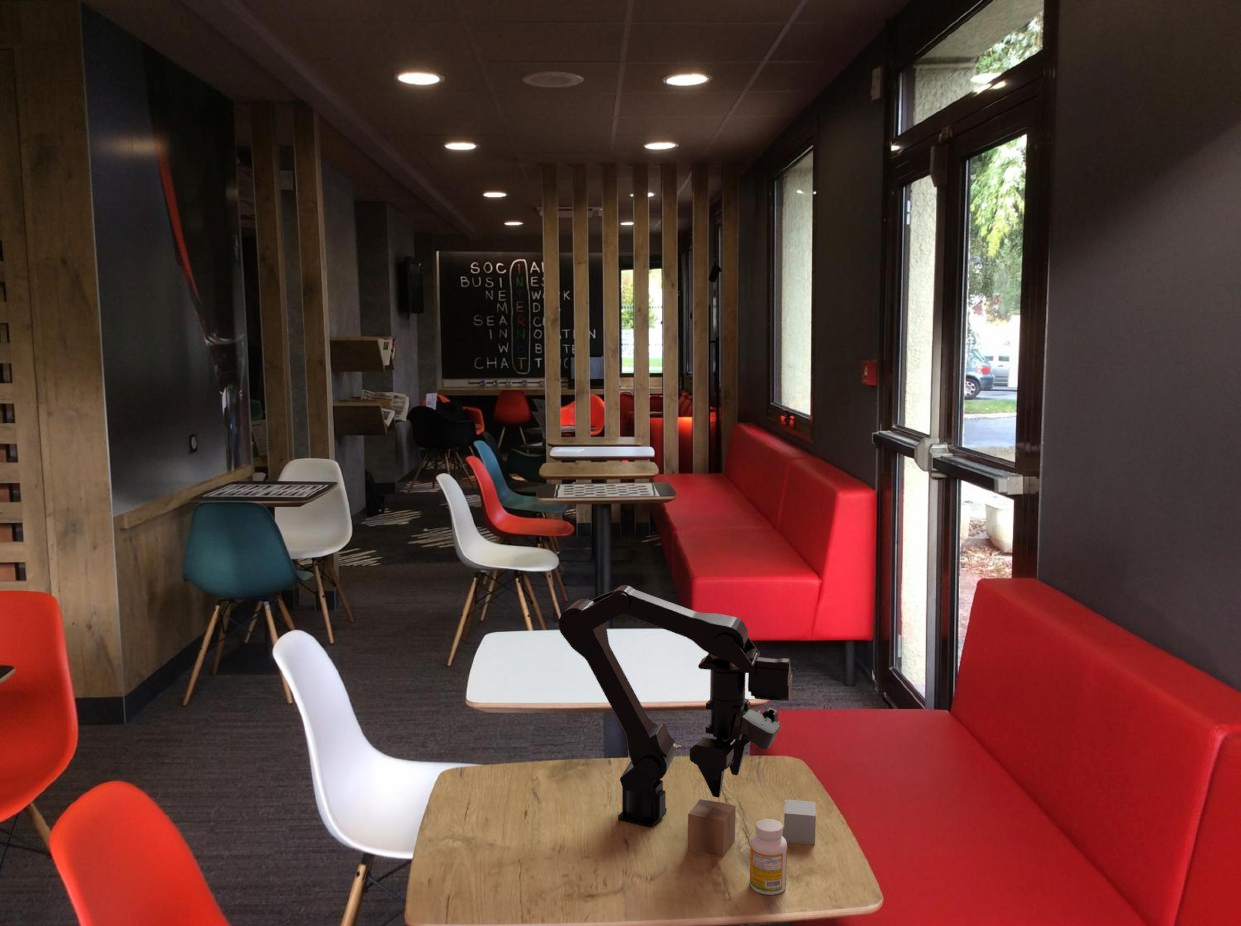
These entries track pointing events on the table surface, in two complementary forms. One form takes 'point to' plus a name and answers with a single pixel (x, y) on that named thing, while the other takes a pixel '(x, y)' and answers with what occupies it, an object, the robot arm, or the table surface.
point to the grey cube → (800, 821)
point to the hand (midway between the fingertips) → (725, 785)
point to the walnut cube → (711, 827)
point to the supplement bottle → (768, 858)
